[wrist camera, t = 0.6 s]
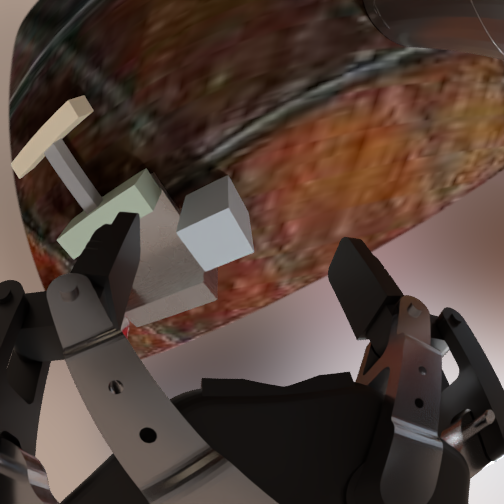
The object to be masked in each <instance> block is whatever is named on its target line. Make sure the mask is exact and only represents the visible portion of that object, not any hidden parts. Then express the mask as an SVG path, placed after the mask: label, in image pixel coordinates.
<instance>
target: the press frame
mask: <svg viewBox="0 0 504 504" xmlns="http://www.w3.org/2000/svg"><path fill="white" fill-rule="evenodd" d="M151 176H152V178H153V179H154V181H155V182H156V184H157V185H158V187H159V188H160V189H161V191H162V193H161V195H160V197H159V199H158V202H157V204H156V206H155V208H154V210H153V212H151V213H149V214H147V215H145V216H144V217H142V218H140V247H141V253H140V262H139V266H138V269H137V272H136V276H135V279H134V282H133V286H132V289H131V292H130V296H129V300H128V303H127V307H126V311H125V314H124V316H125V317H126V318H127V319H128V320H129V321H130V322H132V323H133V324H134V325H135V326H136V327H139V326H142V325H145V324H148V323H151V322H154V321H157V320H160V319H163V318H166V317H169V316H172V315H175V314H178V313H181V312H184V311H187V310H190V309H193V308H195V307H198V306H201V305H204V304H207V303H210V302H212V301H215V300H217V285H218V267H216V268H214V269H211V270H209V271H206V272H205V271H204V270H203V268H202V267H201V266H200V264H199V263H198V262H197V260H196V259H195V258H194V256H193V255H192V254H191V252H190V251H189V250H188V248H187V247H186V246H185V244H184V243H183V242H182V240H181V239H180V238H179V236H178V235H177V233H176V230H177V226H178V222H179V218H180V214H181V212H180V210H179V209H178V207H177V206H176V204H175V203H174V201H173V200H172V198H171V197H170V195H169V194H168V192H167V191H166V189H165V188H164V186H163V185H162V183H161V182H160V180H159V179H158V177H157V176H156V174H155V173H154V172H153V173H152V174H151Z"/></svg>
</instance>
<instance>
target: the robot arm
mask: <svg viewBox="0 0 504 504" xmlns="http://www.w3.org/2000/svg"><path fill="white" fill-rule="evenodd" d="M364 5H365V8H366V11H367V13H368V15H369V17H370V19H371V21H372V22H373V23H374V25H375V26H376V27H377V28H378V29H379V30H380V31H381V32H382V33H383V35H385V36H386V37H387V38H389V39H390V40H392V41H394V42H395V43H397V44H400V45H403V46H406V47H419V48H433V49H443V50H452V51H460V52H466V53H472V54H478V55H483V56H488V57H493V58H497V59H501V60H504V0H364ZM140 253H141V247H140V216H139V213H132V212H119V213H118V214H117V216H116V217H115V219H114V221H113V222H112V224H104V225H102V226H101V227H100V228H98V229H97V230H95V232H94V233H93V235H92V237H91V238H90V241H88V243H87V245H86V246H85V248H84V250H83V251H82V253H81V255H80V256H79V258H78V260H77V262H76V263H75V265H74V267H73V269H72V271H71V272H70V273H68V274H64V275H61V276H59V277H58V278H56V279H55V280H53V281H52V282H51V284H50V285H49V287H48V289H47V291H44V292H36V293H27V294H25V292H24V290H23V287H22V285H21V284H20V283H19V282H17V281H14V280H7V281H4V282H1V283H0V504H468V497H469V485H470V478H472V477H473V476H474V475H475V474H477V473H478V472H479V471H480V470H482V469H483V468H485V467H487V466H488V465H490V464H492V463H494V462H496V461H497V460H499V459H501V458H502V457H504V390H503V388H502V386H501V383H500V381H499V379H498V377H497V375H496V374H495V372H494V370H493V368H492V366H491V364H490V362H489V360H488V358H487V357H486V355H485V353H484V351H483V349H482V348H481V346H480V344H479V343H478V341H477V339H476V338H475V336H474V334H473V333H472V331H471V329H470V328H469V326H468V325H467V323H466V321H465V320H464V318H463V317H462V316H461V315H460V314H459V313H458V312H457V311H455V310H454V309H452V308H448V307H447V308H444V310H443V311H442V312H441V314H440V315H439V316H434V315H431V314H430V313H429V311H428V309H427V307H426V306H425V305H424V304H423V303H422V302H421V301H420V300H418V299H417V298H415V297H412V296H409V295H406V296H404V295H403V293H402V292H401V290H400V289H399V287H398V286H397V285H396V283H395V282H394V280H393V279H392V277H391V276H390V275H389V273H388V272H387V270H386V269H384V266H383V265H382V264H381V262H380V261H379V260H378V259H377V258H376V257H375V256H374V255H373V254H372V253H371V251H370V250H369V249H368V247H367V246H366V245H365V243H364V242H363V241H362V240H361V239H356V238H349V237H344V238H342V239H341V241H340V243H339V246H338V248H337V250H336V253H335V255H334V257H333V260H332V262H331V264H330V267H329V270H328V278H329V282H330V284H331V286H332V288H333V290H334V291H335V294H336V296H337V298H338V300H339V302H340V304H341V306H342V308H343V310H344V312H345V314H346V317H347V319H348V321H349V323H350V325H351V327H352V330H353V332H354V334H355V336H356V339H357V340H366V339H369V340H370V343H369V344H368V345H367V347H366V350H365V353H364V357H363V360H362V363H361V366H360V370H359V374H358V376H357V379H356V382H353V379H352V377H351V374H350V372H344V373H336V374H327V375H319V376H316V377H313V378H311V379H308V380H305V381H302V382H299V383H296V384H293V385H290V386H285V387H281V386H276V385H270V384H264V383H259V382H255V381H249V380H245V379H212V378H202V381H201V389H196V390H192V391H189V392H185V393H182V394H180V395H178V396H175V397H174V398H172V399H170V400H169V399H168V397H167V396H166V395H165V393H164V392H163V391H162V389H161V388H160V387H159V385H158V384H157V383H156V381H155V380H154V379H153V377H152V376H151V375H150V373H149V372H148V370H147V369H146V367H145V366H144V364H143V363H142V361H141V360H140V358H139V357H138V355H137V354H136V352H135V351H134V349H133V348H132V346H131V345H130V343H129V341H128V340H127V338H126V337H125V335H124V334H123V332H122V331H121V326H122V322H123V318H124V314H125V311H126V307H127V303H128V300H129V296H130V292H131V289H132V286H133V282H134V279H135V276H136V272H137V269H138V266H139V262H140ZM449 350H450V351H451V353H452V355H453V357H454V358H455V360H456V362H457V364H458V366H459V376H458V378H457V379H456V380H455V381H454V382H453V383H452V384H451V385H449V383H448V381H447V379H446V377H445V374H444V372H443V370H442V357H443V356H444V355H445V354H446V353H447V352H448V351H449ZM12 351H13V352H12ZM11 354H12V355H11ZM10 357H11V358H10ZM64 359H65V361H66V364H67V366H68V369H69V371H70V373H71V376H72V378H73V380H74V383H75V384H76V387H77V389H78V391H79V393H80V395H81V397H82V399H83V401H84V403H85V405H86V407H87V409H88V411H89V413H90V415H91V417H92V419H93V420H94V422H95V424H96V426H97V428H98V429H99V431H100V432H101V434H102V436H103V438H104V439H105V441H106V442H107V444H108V446H109V447H110V449H111V450H112V452H113V454H112V455H111V456H110V457H109V458H108V459H107V460H106V461H105V462H104V463H103V464H102V465H100V466H99V467H98V468H97V469H96V470H95V471H94V472H93V473H92V474H91V475H90V476H89V477H88V478H87V479H86V480H85V481H84V482H82V484H80V485H79V486H78V487H77V488H76V489H75V490H74V491H73V492H72V493H71V494H69V495H68V496H67V497H66V498H65V499H64V500H63V501H62V502H61V503H59V502H57V500H56V499H55V498H54V496H53V495H52V493H51V491H50V488H49V484H48V478H47V474H46V471H45V469H44V467H43V465H42V464H41V463H40V461H39V460H38V459H37V458H36V457H35V451H36V440H37V431H38V423H39V416H40V410H41V404H42V398H43V393H44V388H45V384H46V379H47V375H48V371H49V367H50V363H51V361H54V360H64ZM9 360H10V361H9ZM8 363H9V364H8ZM7 366H8V367H7ZM470 410H471V411H470Z"/></svg>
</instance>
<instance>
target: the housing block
mask: <svg viewBox="0 0 504 504" xmlns="http://www.w3.org/2000/svg"><path fill="white" fill-rule="evenodd" d="M176 233H177V235H178V236H179V238H180V239H181V240H182V242H183V243H184V244H185V246H186V247H187V248H188V250H189V251H190V252H191V254H192V255H193V256H194V258H195V259H196V260H197V262H198V263H199V264H200V266H201V267H202V268H203V270H204V271H205V272H206V271H209V270H211V269H214V268H216V267H219V266H221V265H224V264H226V263H228V262H231V261H233V260H236V259H238V258H241V257H243V256H246V255H248V254H251V253H253V252H254V247H253V240H252V233H251V226H250V220H249V213H248V211H247V209H246V207H245V205H244V203H243V202H242V200H241V198H240V196H239V194H238V192H237V191H236V189H235V187H234V185H233V183H232V181H231V180H230V178H229V176H228V175H227V176H225V177H223V178H221V179H218V180H216V181H214V182H212V183H210V184H208V185H206V186H204V187H202V188H200V189H198V190H196V191H194V192H192V193H190V194H188V195H186V196H185V200H184V204H183V207H182V211H181V214H180V218H179V222H178V226H177V230H176Z"/></svg>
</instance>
